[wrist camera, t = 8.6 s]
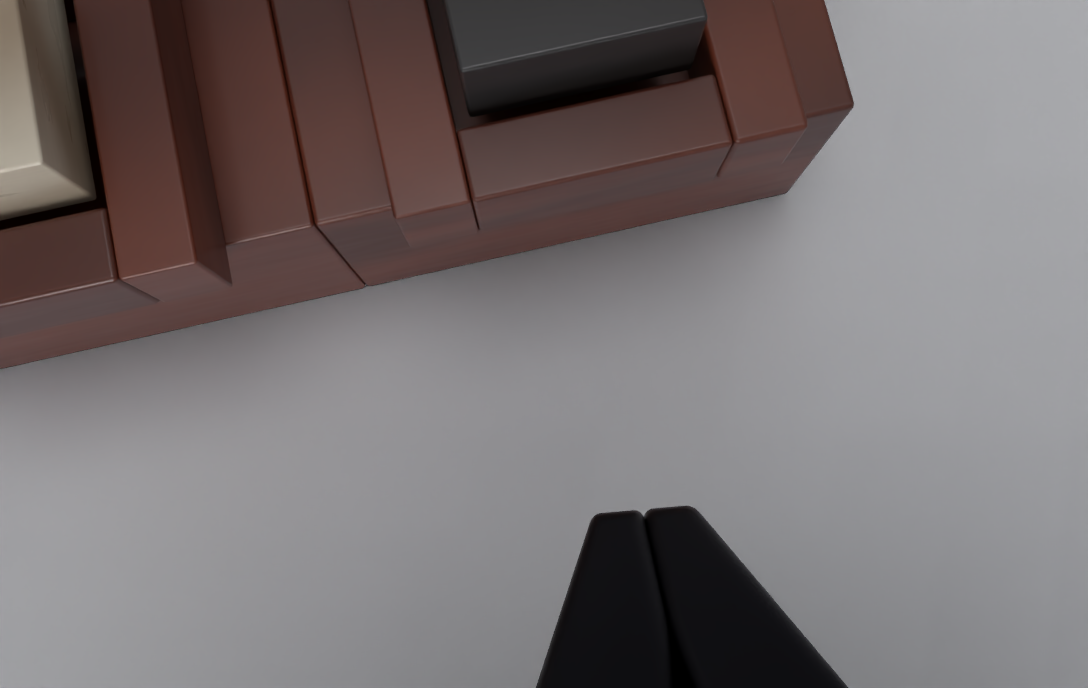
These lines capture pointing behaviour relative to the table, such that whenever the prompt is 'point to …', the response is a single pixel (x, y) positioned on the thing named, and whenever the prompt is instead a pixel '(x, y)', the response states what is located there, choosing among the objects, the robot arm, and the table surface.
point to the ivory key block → (169, 186)
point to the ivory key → (40, 112)
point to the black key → (566, 46)
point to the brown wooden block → (541, 133)
